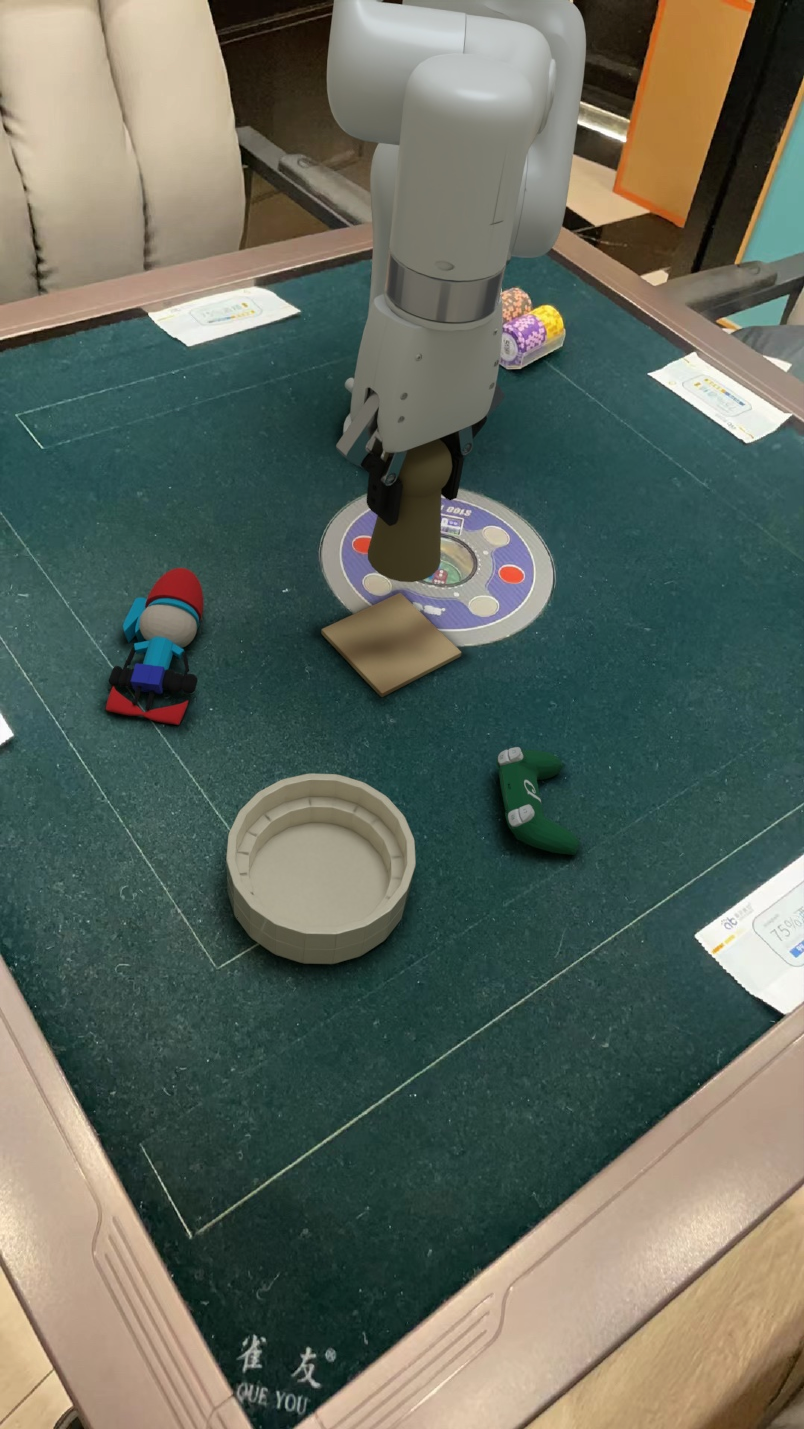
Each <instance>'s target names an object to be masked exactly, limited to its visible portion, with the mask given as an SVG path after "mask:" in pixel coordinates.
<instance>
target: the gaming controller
mask: <svg viewBox="0 0 804 1429" xmlns="http://www.w3.org/2000/svg"><path fill="white" fill-rule="evenodd" d="M563 767H564V765H563V762H562V761H561V759H559V757H558V756H557V755H556V754H554V753H551V752H549V751H543V750H537V749H521V748H520V747H519V746H515V747H511V748H506V749H504V750H503V751H501V752H500V753H499V754H498V755H497V756H496V770H497V772H498V779H499V784H500V790H501V795H502V800H503V807H504V811H505V812H504V815H505V819H506V823H507V825H508V828H509V830H510V832H511V833H512V834H513V835H514V838H515V839H516V840H518V841H519V842H520V841H521V842H522V843H524V844H527V845H529V846H531V847H533V848H536V849H540V850H543V851H547V852H549V853H553V854H562V855H570V856H571V855H572V856H574V855H576V853H577V851H578V848H579V845H580V840H579V838H578V837H577V836H576V835H575V834H574V833H573V832H572V831H571V830H569V829H567V828H565V827H563V826H562V825H560V824H558V823H556V822H554V821H552V820H550V819H548V818H546V817H545V814H544V809H543V803H542V799H541V795H540V790H539V789H540V788H539V784H538V781H541V780H546V779H551V778H553V777H555V776H557V775H559V773H561V771H562V770H563Z"/></svg>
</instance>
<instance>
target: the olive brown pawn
mask: <svg viewBox="0 0 804 1429" xmlns="http://www.w3.org/2000/svg"><path fill="white" fill-rule="evenodd" d="M388 456H389V452H385V454H384V457H383V460H384V461H385V462H386V461H387V458H388ZM451 470H452V460H451V454H450V452H449V450H448V448H447V447H446V445H445V443H443V442H442V441H441V440H440V439H436V440H433V441H431V442H428V443H425V444H423V445H420V446H417V447H414V448H412V449H409V450H408V452H407V454H406V457H405V459H404V462H403V465H402V467H401V470H400V472H399V475H398V479H399V480H400V481H401V482H402V484H403V488H402V495H401V502H400V510H399V517H398V521H397V523H396V524H394V525H392V526H388V525H387V524H386V523H385V522H384V521H383V520H382V519H381V518H380V517H379V516H378V515H376V520H375V522H374V527H373V531H372V534H371V538H370V541H369V545H368V548H367V560H368V561H369V564H370V566H371V568H373V569H374V570H375V571H376V572H377V574H379V575H381V576H383V577H385V578H387V579H389V580H393V581H397V582H402V583H415V582H420V581H424V580H426V579H428V578H430V577H432V576H433V575H434V574H435V573H436V572H438V570H439V567H440V565H441V559H442V558H441V554H442V553H441V548H442V547H441V546H442V545H441V544H442V536H441V535H442V533H441V532H442V495H441V489H442V488H443V487H444V486H445V485H446V483H447V481H448V479H449V477H450V474H451Z"/></svg>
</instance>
